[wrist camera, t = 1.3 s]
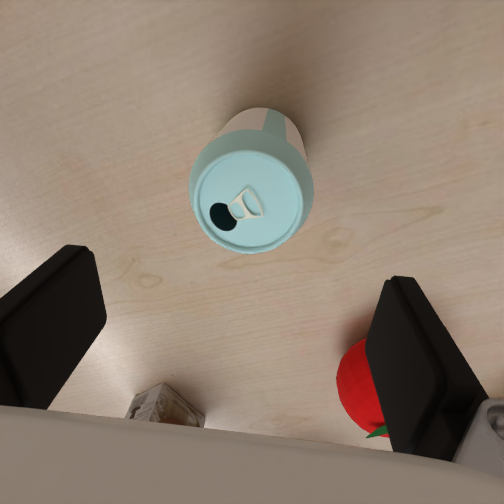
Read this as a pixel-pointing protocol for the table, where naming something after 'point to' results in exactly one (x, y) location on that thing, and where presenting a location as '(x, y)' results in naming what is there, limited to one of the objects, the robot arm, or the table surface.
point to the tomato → (360, 391)
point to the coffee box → (164, 408)
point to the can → (252, 183)
